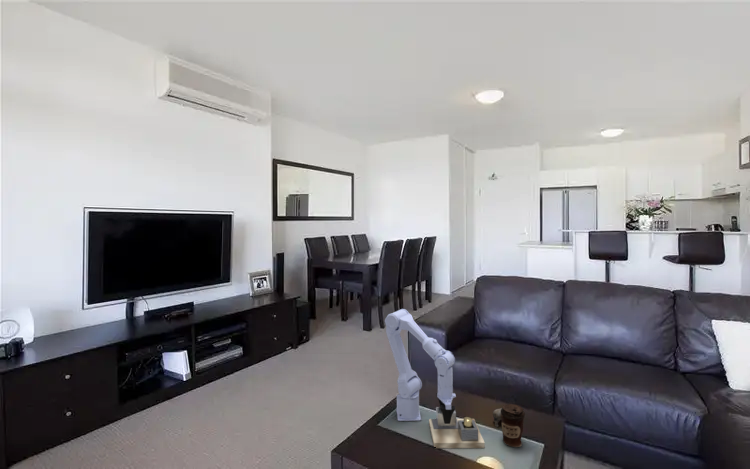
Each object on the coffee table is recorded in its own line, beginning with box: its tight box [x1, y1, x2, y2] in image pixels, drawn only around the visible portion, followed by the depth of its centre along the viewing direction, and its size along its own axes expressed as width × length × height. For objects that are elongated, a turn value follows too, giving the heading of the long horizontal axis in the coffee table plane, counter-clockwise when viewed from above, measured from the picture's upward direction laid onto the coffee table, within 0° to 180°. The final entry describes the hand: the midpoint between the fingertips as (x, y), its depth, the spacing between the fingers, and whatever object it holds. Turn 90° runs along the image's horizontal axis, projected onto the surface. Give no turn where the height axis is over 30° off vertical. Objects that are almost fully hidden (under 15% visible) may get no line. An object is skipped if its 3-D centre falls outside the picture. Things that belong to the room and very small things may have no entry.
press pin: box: [463, 416, 473, 428], centre depth 135 cm, size 3×3×4 cm
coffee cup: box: [500, 403, 526, 448], centre depth 133 cm, size 9×8×13 cm
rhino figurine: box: [492, 407, 503, 428], centre depth 148 cm, size 4×14×6 cm, turn 119°
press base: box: [428, 418, 486, 449], centre depth 139 cm, size 18×15×6 cm
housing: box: [435, 406, 457, 427], centre depth 143 cm, size 7×4×6 cm, turn 88°
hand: (445, 417), depth 143 cm, fingers open, 7 cm apart
